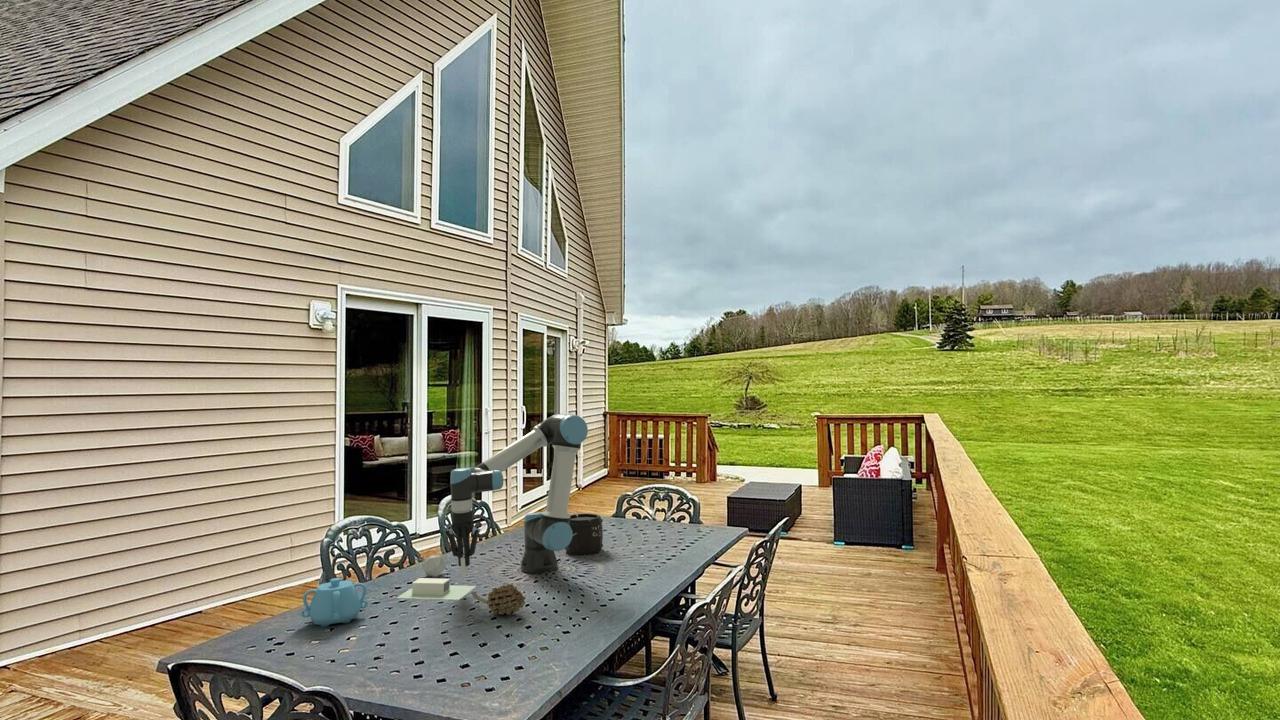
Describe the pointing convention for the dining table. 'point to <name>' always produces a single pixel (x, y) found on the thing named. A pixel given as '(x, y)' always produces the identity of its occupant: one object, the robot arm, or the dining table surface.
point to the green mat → (452, 594)
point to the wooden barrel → (585, 534)
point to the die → (434, 565)
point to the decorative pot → (334, 602)
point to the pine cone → (503, 599)
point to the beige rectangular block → (430, 586)
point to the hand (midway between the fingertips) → (464, 574)
